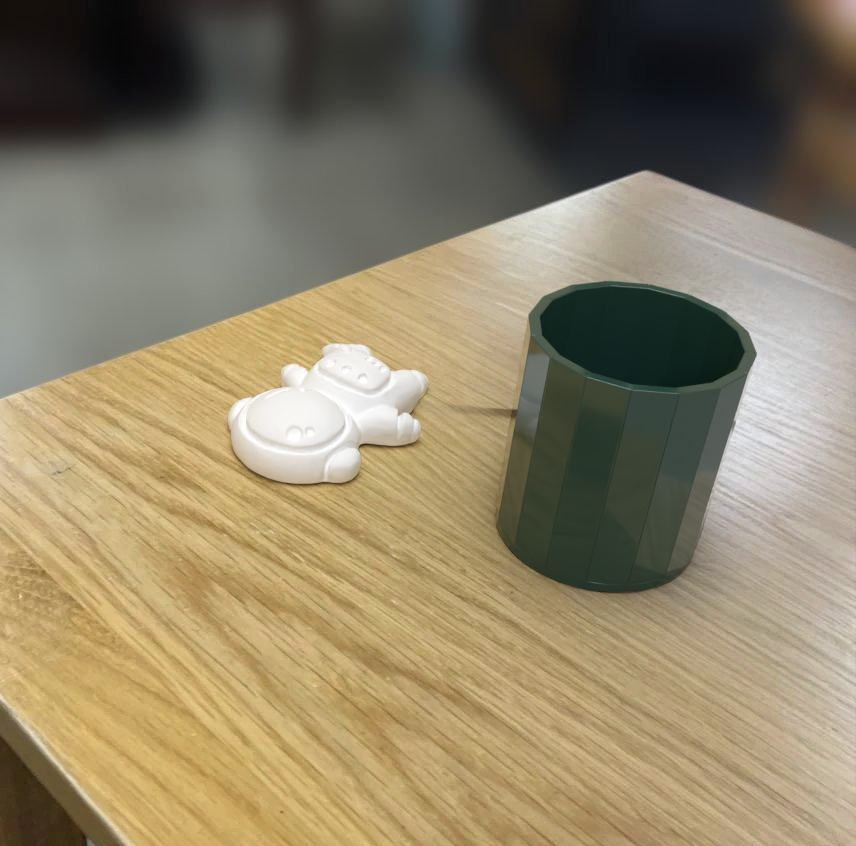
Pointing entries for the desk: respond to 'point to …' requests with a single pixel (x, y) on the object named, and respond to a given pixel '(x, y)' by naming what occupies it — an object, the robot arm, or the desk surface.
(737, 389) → the canister
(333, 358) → the white cartoon animal figure
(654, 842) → the desk surface
